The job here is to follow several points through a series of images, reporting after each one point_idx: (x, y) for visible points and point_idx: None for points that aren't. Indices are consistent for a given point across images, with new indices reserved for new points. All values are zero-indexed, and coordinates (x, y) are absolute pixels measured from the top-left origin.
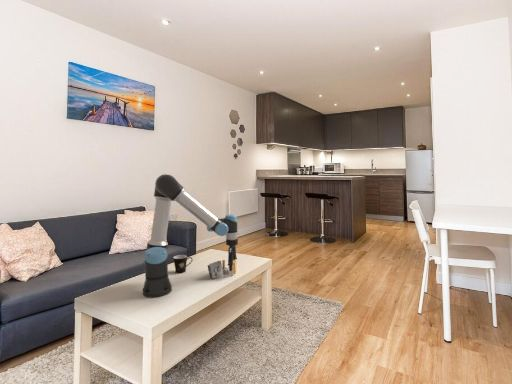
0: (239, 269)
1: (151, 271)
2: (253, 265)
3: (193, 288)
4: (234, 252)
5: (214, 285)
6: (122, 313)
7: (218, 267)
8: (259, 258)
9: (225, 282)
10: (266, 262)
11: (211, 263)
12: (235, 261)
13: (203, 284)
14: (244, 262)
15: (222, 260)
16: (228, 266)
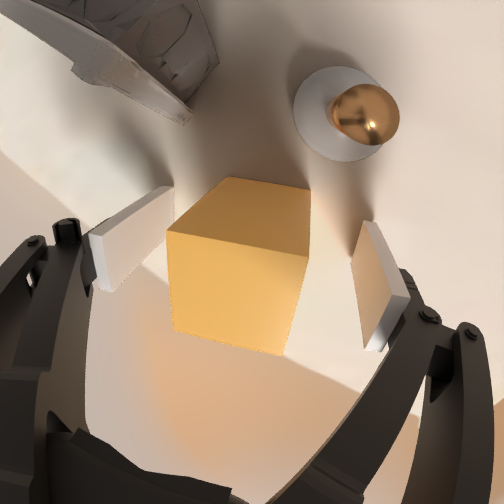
0: (354, 294)
1: None
2: None
3: (8, 18)
4: (280, 490)
5: (18, 111)
6: None
7: (79, 73)
8: (498, 397)
9: (50, 172)
10: (419, 427)
11: (1, 5)
12: (254, 345)
13: (31, 34)
14: (500, 332)
15: (371, 88)
16: (192, 206)
